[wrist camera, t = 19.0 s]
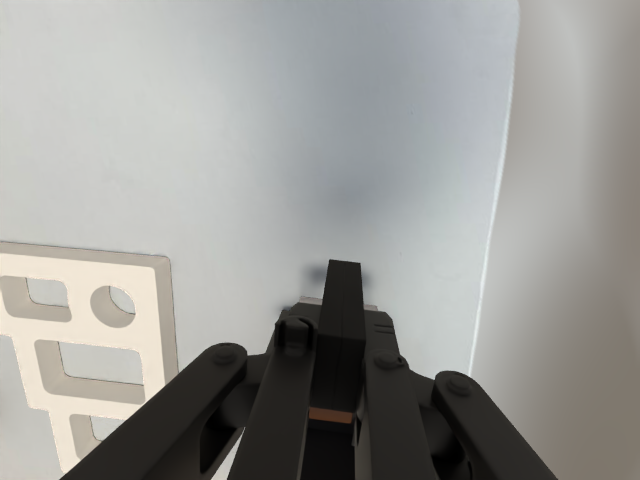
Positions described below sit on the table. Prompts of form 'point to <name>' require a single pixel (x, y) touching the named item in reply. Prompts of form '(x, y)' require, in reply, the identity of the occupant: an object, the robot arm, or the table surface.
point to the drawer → (327, 436)
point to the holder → (86, 334)
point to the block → (330, 415)
